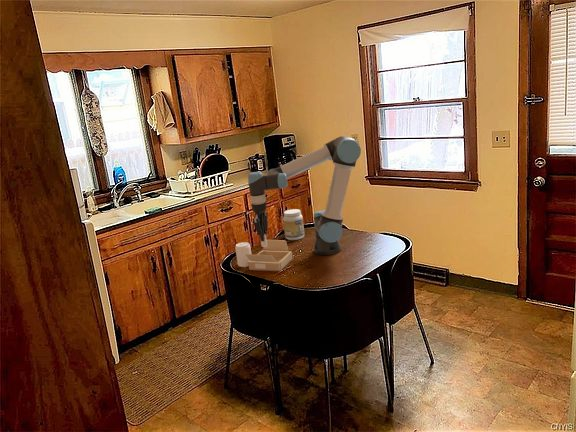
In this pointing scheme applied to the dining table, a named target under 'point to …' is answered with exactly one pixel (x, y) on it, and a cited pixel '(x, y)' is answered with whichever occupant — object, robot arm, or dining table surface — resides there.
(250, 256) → the front flap
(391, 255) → the dining table surface
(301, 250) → the dining table surface
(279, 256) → the carton
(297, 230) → the supplement tub
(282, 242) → the back flap
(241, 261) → the beverage can
